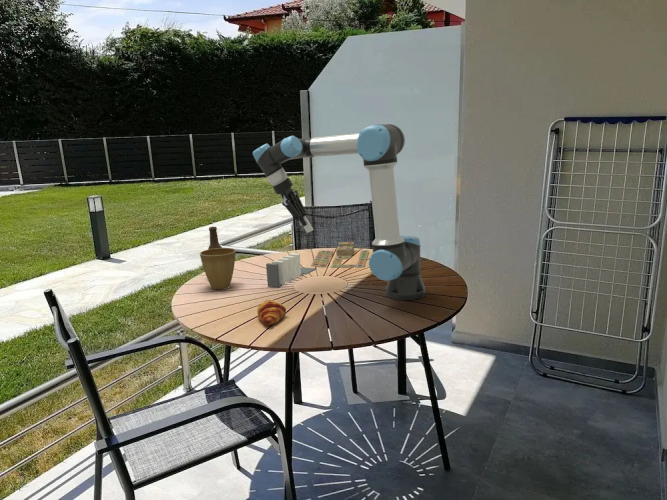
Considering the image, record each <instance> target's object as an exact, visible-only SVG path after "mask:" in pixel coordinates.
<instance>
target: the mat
mask: <svg viewBox="0 0 667 500" xmlns="http://www.w3.org/2000/svg"><path fill="white" fill-rule="evenodd" d="M315 270H317V267H303V266H301V275H308V274H310V273H312V272H314V271H315Z"/></svg>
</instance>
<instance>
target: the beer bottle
mask: <svg viewBox="0 0 667 500" xmlns="http://www.w3.org/2000/svg"><path fill="white" fill-rule="evenodd" d="M217 230H218V229H217V226H209V228H208V231H209V246H208V248H207V250H209V249H215V248H223V247H222V246H221V244H220V242H219V238H218V231H217Z"/></svg>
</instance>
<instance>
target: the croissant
mask: <svg viewBox="0 0 667 500" xmlns="http://www.w3.org/2000/svg"><path fill="white" fill-rule="evenodd" d="M256 312H257V313H256V314H257V316H258V319H259V320H260V321H261V322H262V323H263V324H264V325H266V326H270V325H274V324H277V323H278V322H279V321H281V320H282V318H283V317H284V316H285V314H286V312H287V308H286V306H285V305H284V304H283V303H281V302H279V301H276V300H272V299H267V300H265V301H263V302H262V303H260V304H258V306H257V311H256Z"/></svg>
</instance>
